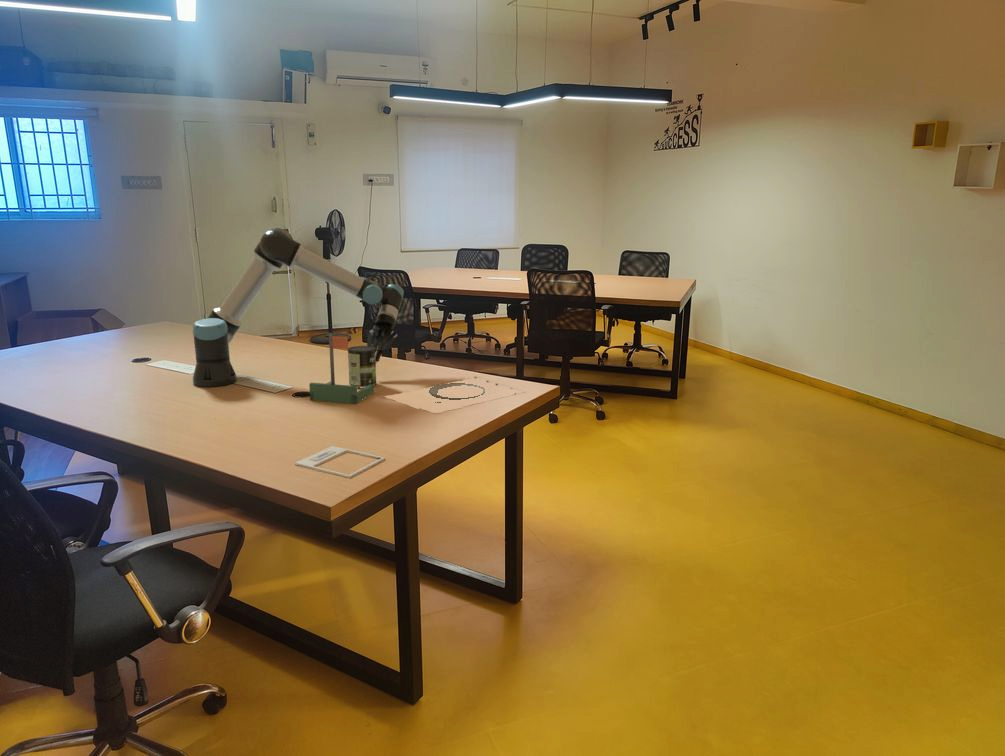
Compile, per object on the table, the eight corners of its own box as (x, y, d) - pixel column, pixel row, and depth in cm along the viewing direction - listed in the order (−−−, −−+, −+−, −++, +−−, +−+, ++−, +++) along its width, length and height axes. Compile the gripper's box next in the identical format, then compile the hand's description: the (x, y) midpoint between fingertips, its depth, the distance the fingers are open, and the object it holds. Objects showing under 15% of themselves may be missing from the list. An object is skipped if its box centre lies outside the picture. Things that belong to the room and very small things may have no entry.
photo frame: (332, 445, 185) (385, 457, 177) (333, 449, 185) (385, 460, 177) (294, 462, 172) (349, 475, 164) (295, 466, 172) (349, 479, 165)
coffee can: (379, 381, 256) (378, 346, 253) (373, 388, 246) (372, 351, 243) (352, 381, 256) (351, 345, 253) (345, 388, 246) (344, 350, 243)
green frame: (331, 389, 244) (328, 324, 238) (374, 392, 241) (372, 327, 235) (310, 400, 230) (306, 332, 224) (355, 404, 226) (353, 335, 220)
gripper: (404, 324, 271) (389, 373, 259) (374, 323, 273) (358, 371, 262) (399, 313, 264) (384, 363, 253) (368, 312, 267) (352, 361, 255)
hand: (371, 367), depth 257 cm, fingers closed
